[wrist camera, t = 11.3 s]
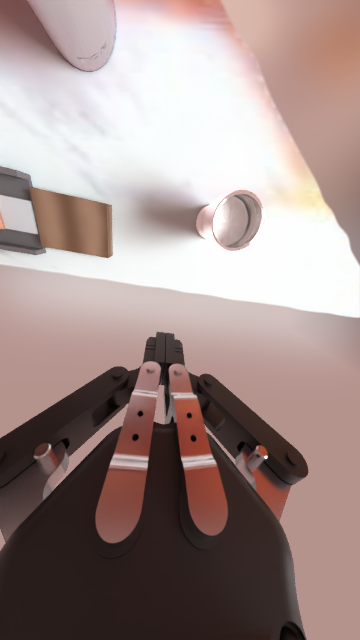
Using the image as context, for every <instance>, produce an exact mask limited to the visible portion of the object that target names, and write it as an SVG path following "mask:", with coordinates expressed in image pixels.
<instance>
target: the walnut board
mask: <svg viewBox="0 0 360 640" xmlns="http://www.w3.org/2000/svg"><path fill="white" fill-rule="evenodd" d="M29 188H30V193H31V198H32V203H33V207H34V212H35V217H36V221H37V226H38V231H39V235H40V240H41V245H42V246H43V247H49V248H55V249H60V250H66V251H72V252H77V253H83V254H89V255H95V256H100V257H106V258H109V257H111V256H112V255H113V252H112V205H108V204H104V203H100V202H95V201H91V200H86V199H82V198H77V197H73V196H69V195H64V194H60V193H55V192H51V191H46V190H42V189H37V188H33V187H29Z"/></svg>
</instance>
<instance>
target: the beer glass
mask: <svg viewBox="0 0 360 640" xmlns="http://www.w3.org/2000/svg"><path fill="white" fill-rule="evenodd" d="M262 223H263V207H262V204H261V202H260V200H259V198H258V197H257V196H256V195H255V194H253V193H252V192H250V191H246V190H238V191H234V192H230V193H226V194H224V195H221V196H219V197H218V198H216V199H215V200H214V201H212V202H211V204H210V205H207V206H205V207H204V208H202V209H201V211H200V212H199V214H198V216H197V219H196V228H197V231H198V233H199V234H200V235H201V236H202V237H203V238H205V239H207V240H208V241H209V242H210V243H211V244H213V245H214V246H216V247H218V248H221V249H226V250H231V251H235V250H240V249H243V248H245V247H246V246H248V245H249V244H250V243H251V242H253V240H254V239H255V238H256V237H257V235H258V233H259V232H260V229H261V227H262Z"/></svg>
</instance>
